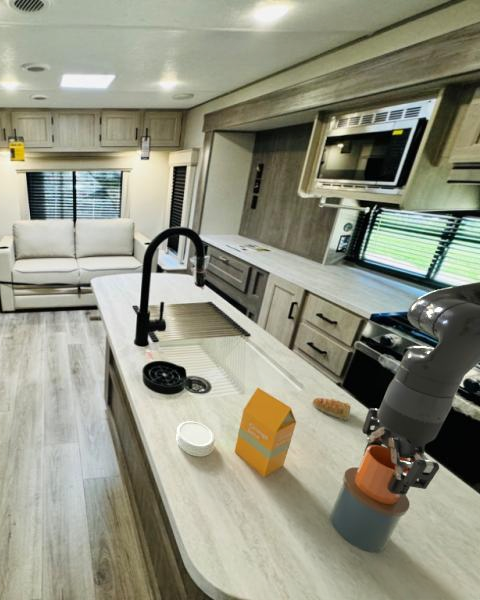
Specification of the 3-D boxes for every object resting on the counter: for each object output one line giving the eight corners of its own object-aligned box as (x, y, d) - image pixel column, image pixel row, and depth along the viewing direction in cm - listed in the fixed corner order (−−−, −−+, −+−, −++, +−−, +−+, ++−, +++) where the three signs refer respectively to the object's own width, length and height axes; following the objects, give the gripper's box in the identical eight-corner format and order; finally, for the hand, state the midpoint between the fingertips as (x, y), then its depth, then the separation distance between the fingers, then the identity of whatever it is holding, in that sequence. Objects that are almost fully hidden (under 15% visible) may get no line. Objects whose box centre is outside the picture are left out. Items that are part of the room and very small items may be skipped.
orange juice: (253, 441, 88) (267, 383, 81) (283, 465, 80) (302, 403, 73) (233, 451, 85) (246, 391, 78) (263, 477, 77) (281, 414, 70)
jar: (369, 511, 69) (387, 471, 65) (399, 559, 60) (423, 517, 56) (320, 502, 71) (335, 463, 67) (342, 548, 63) (361, 506, 58)
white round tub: (221, 451, 85) (223, 442, 84) (190, 461, 82) (191, 451, 81) (197, 426, 94) (199, 417, 92) (169, 434, 91) (170, 425, 90)
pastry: (311, 410, 99) (314, 401, 98) (311, 399, 104) (314, 389, 103) (349, 422, 94) (353, 412, 93) (347, 409, 99) (351, 400, 98)
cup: (384, 477, 64) (397, 447, 61) (406, 507, 58) (423, 476, 55) (347, 471, 65) (359, 442, 62) (366, 500, 59) (380, 469, 56)
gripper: (479, 441, 47) (435, 515, 53) (409, 383, 60) (380, 448, 66) (419, 433, 48) (383, 506, 54) (363, 378, 61) (339, 442, 67)
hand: (381, 474), depth 60 cm, fingers open, 7 cm apart
